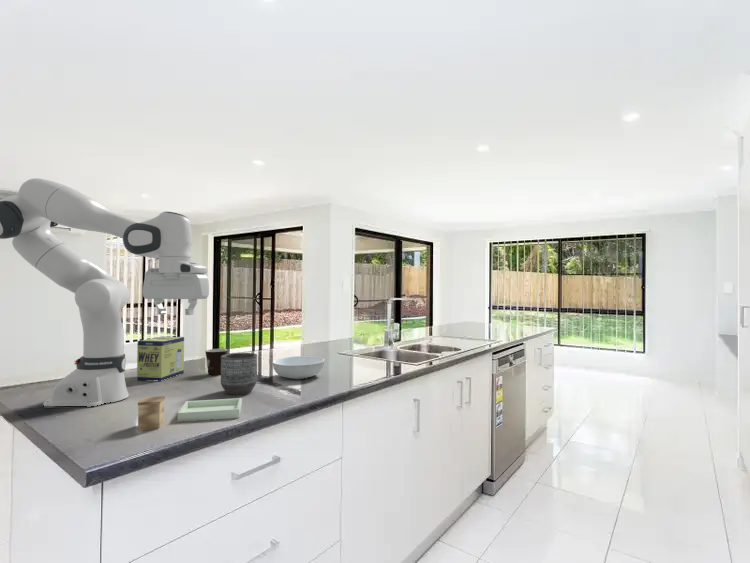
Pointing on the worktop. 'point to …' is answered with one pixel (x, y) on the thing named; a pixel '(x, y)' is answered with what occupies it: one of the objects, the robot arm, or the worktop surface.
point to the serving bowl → (298, 366)
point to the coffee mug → (214, 361)
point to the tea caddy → (150, 412)
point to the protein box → (160, 358)
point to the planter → (238, 373)
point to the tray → (210, 409)
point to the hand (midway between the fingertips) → (175, 314)
